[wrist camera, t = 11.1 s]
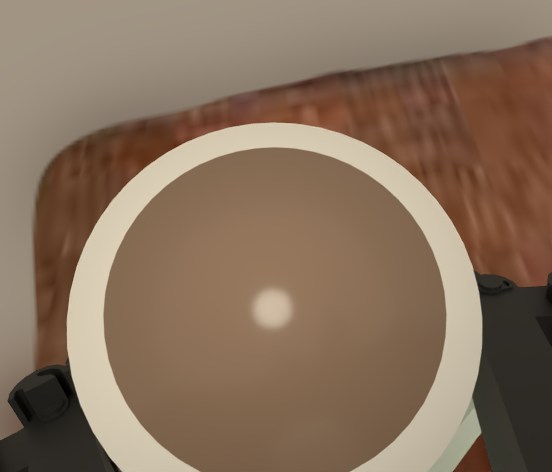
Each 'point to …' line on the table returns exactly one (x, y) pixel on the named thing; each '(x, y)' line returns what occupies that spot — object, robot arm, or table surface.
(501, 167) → the table surface
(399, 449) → the cup
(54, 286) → the table surface
